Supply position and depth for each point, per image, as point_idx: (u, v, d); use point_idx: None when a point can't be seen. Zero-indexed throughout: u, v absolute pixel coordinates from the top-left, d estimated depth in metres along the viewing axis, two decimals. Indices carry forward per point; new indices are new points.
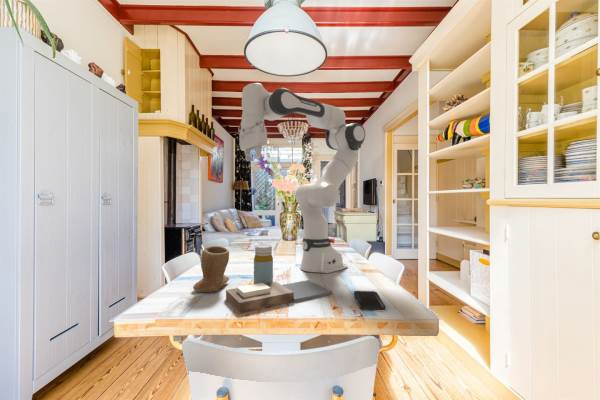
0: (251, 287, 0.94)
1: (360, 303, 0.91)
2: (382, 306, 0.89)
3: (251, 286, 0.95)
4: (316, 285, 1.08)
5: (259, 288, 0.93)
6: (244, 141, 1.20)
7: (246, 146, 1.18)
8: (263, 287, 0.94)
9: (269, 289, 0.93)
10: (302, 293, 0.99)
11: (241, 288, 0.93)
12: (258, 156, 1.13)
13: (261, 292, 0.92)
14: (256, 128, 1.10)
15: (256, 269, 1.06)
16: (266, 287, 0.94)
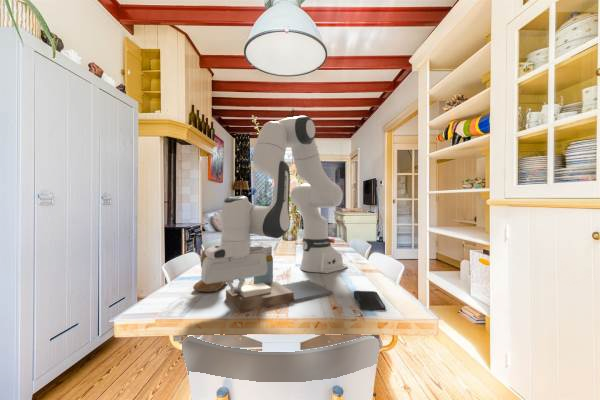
0: (252, 287, 0.94)
1: (360, 303, 0.91)
2: (382, 306, 0.89)
3: (252, 286, 0.95)
4: (316, 285, 1.08)
5: (260, 288, 0.93)
6: (222, 271, 0.87)
7: (230, 278, 0.88)
8: (264, 287, 0.94)
9: (270, 289, 0.93)
10: (302, 293, 0.99)
11: (242, 288, 0.93)
12: None
13: (262, 292, 0.92)
14: (261, 256, 0.93)
15: None
16: (267, 287, 0.94)
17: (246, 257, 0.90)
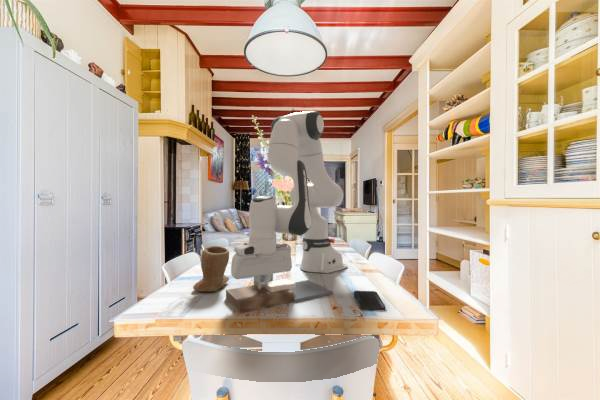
0: (277, 282, 0.99)
1: (360, 303, 0.91)
2: (382, 306, 0.89)
3: (277, 281, 1.00)
4: (316, 285, 1.08)
5: (285, 283, 0.98)
6: (251, 267, 0.92)
7: (258, 273, 0.93)
8: (288, 282, 0.99)
9: (294, 284, 0.98)
10: (302, 293, 0.99)
11: (268, 283, 0.98)
12: None
13: (287, 287, 0.97)
14: (286, 253, 0.98)
15: None
16: (291, 282, 0.99)
17: (272, 254, 0.95)
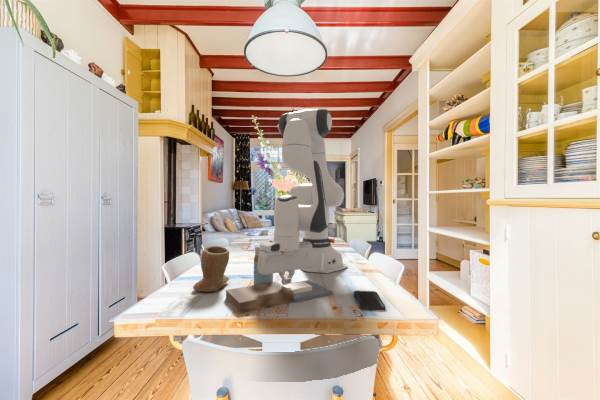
0: (294, 285, 1.02)
1: (360, 303, 0.91)
2: (382, 306, 0.89)
3: (294, 284, 1.03)
4: (316, 285, 1.08)
5: (302, 286, 1.01)
6: (276, 263, 0.96)
7: (282, 269, 0.97)
8: (305, 285, 1.02)
9: (311, 287, 1.02)
10: (302, 293, 0.99)
11: (285, 286, 1.01)
12: None
13: (304, 290, 1.00)
14: (308, 250, 1.02)
15: (256, 269, 1.06)
16: (308, 285, 1.02)
17: (296, 251, 1.00)
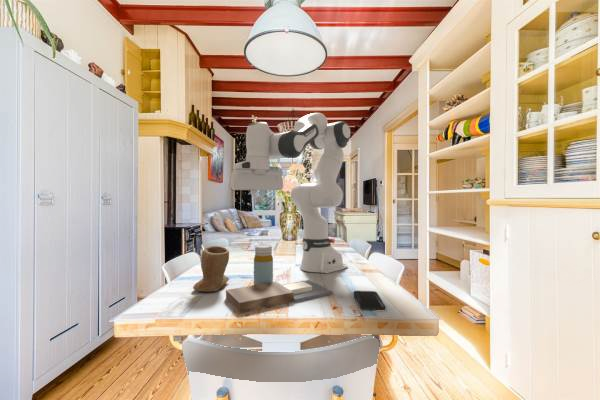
0: (294, 285, 1.02)
1: (360, 303, 0.91)
2: (382, 306, 0.89)
3: (294, 284, 1.03)
4: (316, 285, 1.08)
5: (302, 286, 1.01)
6: (247, 181, 1.06)
7: (253, 187, 1.08)
8: (305, 285, 1.02)
9: (311, 287, 1.02)
10: (302, 293, 0.99)
11: (285, 286, 1.01)
12: None
13: (304, 290, 1.00)
14: (278, 174, 1.13)
15: (256, 269, 1.06)
16: (308, 285, 1.02)
17: (266, 172, 1.10)
